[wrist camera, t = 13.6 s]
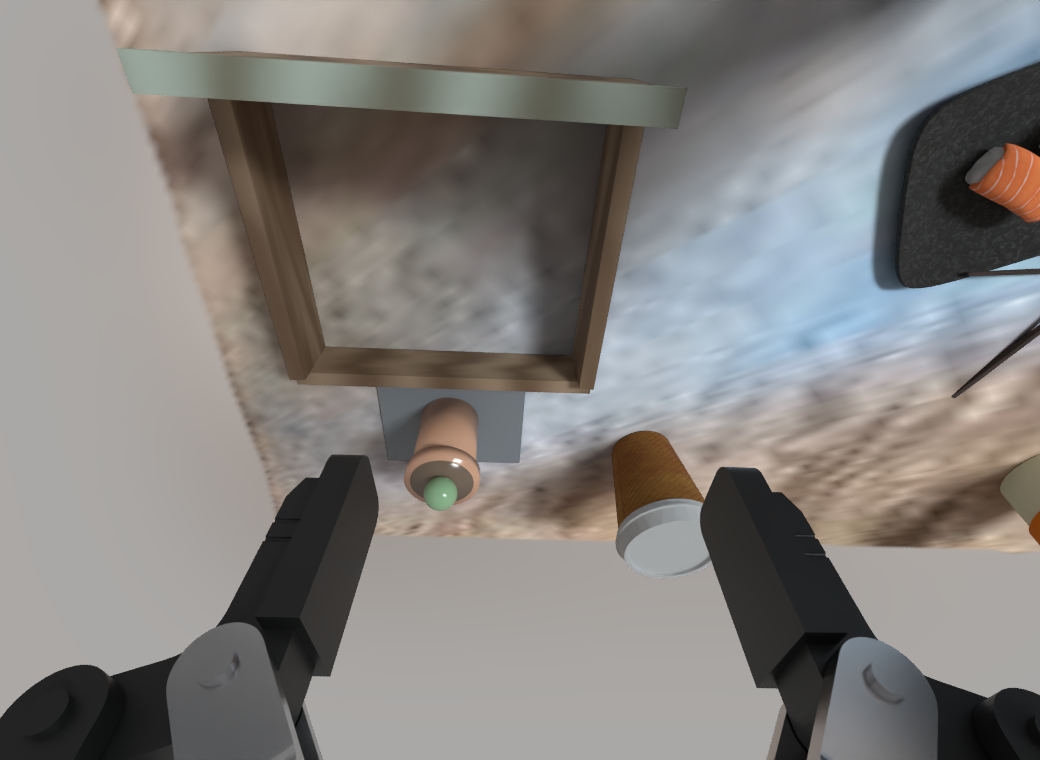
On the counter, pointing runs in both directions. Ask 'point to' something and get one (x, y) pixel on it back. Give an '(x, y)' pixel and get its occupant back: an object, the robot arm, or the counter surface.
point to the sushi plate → (974, 190)
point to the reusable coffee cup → (1025, 493)
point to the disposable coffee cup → (656, 509)
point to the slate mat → (493, 408)
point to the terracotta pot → (445, 455)
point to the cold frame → (418, 88)
